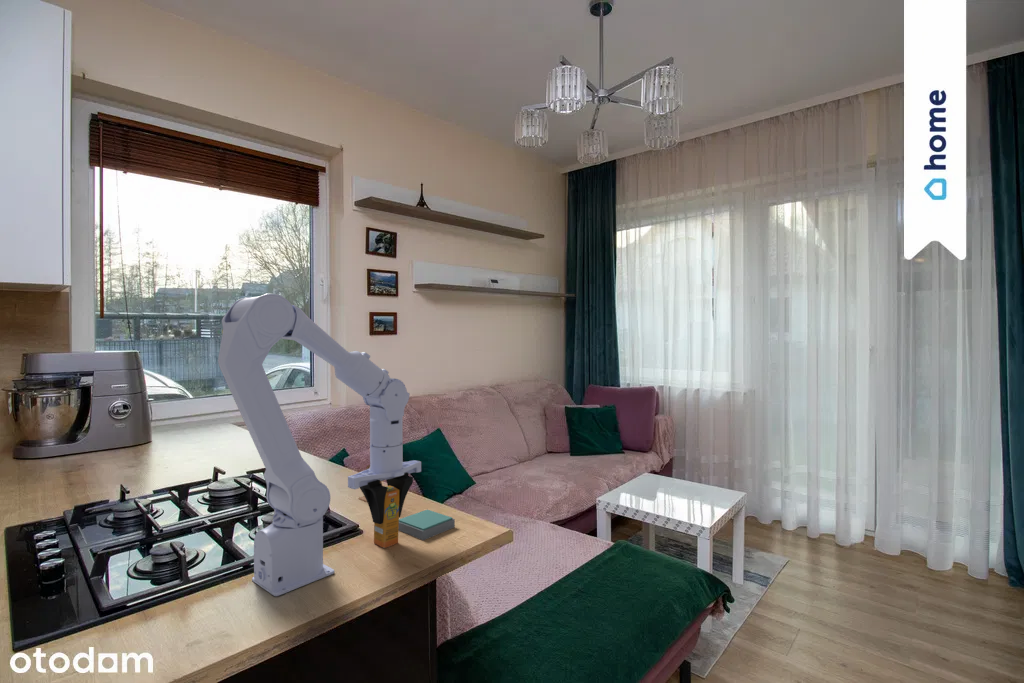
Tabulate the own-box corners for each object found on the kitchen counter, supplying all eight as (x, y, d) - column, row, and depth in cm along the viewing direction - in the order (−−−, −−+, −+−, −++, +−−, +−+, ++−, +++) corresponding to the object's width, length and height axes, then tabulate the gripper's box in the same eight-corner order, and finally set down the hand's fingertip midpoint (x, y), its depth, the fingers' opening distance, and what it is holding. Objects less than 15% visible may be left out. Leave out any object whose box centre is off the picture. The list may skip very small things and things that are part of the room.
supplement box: (384, 549, 87) (384, 492, 87) (373, 544, 90) (373, 488, 90) (400, 543, 90) (399, 488, 90) (389, 538, 92) (388, 484, 92)
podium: (423, 540, 91) (423, 529, 91) (395, 530, 96) (395, 519, 96) (454, 527, 97) (454, 517, 97) (427, 518, 102) (427, 508, 102)
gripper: (364, 454, 82) (365, 537, 82) (431, 440, 93) (432, 513, 93) (340, 448, 86) (341, 527, 86) (407, 435, 97) (407, 505, 97)
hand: (386, 519), depth 90 cm, fingers closed on supplement box, 3 cm apart
